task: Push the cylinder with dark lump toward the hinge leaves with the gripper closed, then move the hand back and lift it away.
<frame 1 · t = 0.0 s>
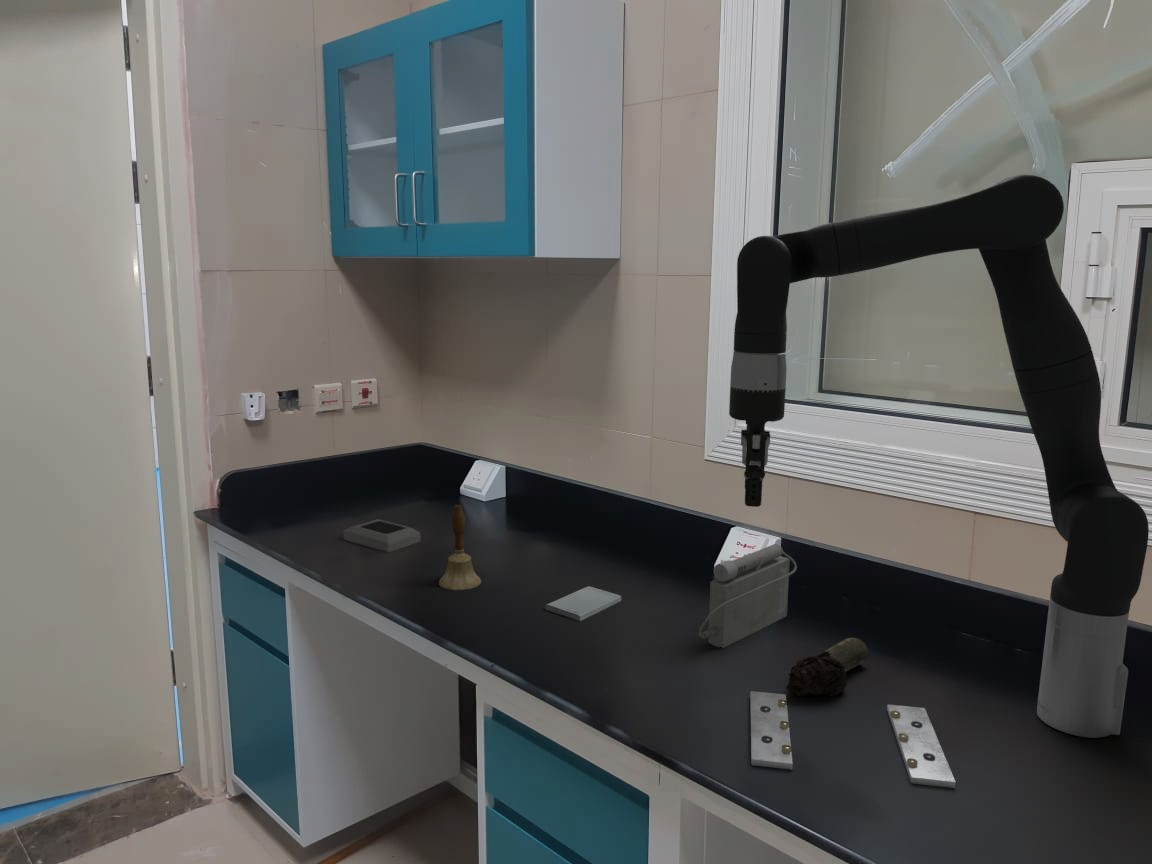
hand: (752, 498, 121), 29 cm above the worktop, tool pointing down, fingers open, 8 cm apart
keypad: (382, 542, 194), on the worktop
hinge leaves: (842, 737, 113), on the worktop
geiger counter: (743, 635, 146), on the worktop
cylinder with dark lump: (830, 684, 129), on the worktop
hard drive: (583, 608, 158), on the worktop
hand bell: (460, 583, 168), on the worktop
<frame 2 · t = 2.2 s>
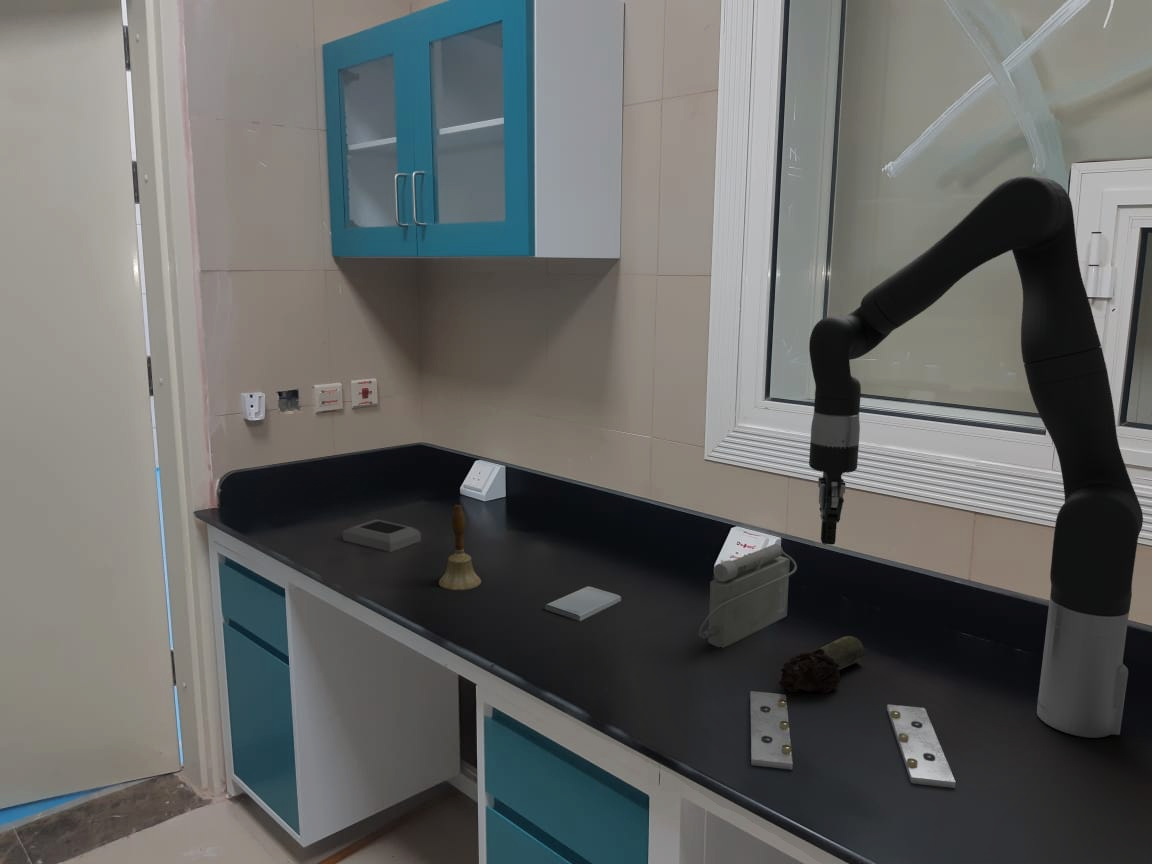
hand: (827, 542, 141), 17 cm above the worktop, tool pointing down, fingers closed
cylinder with dark lump: (824, 681, 130), on the worktop
everything else where it was.
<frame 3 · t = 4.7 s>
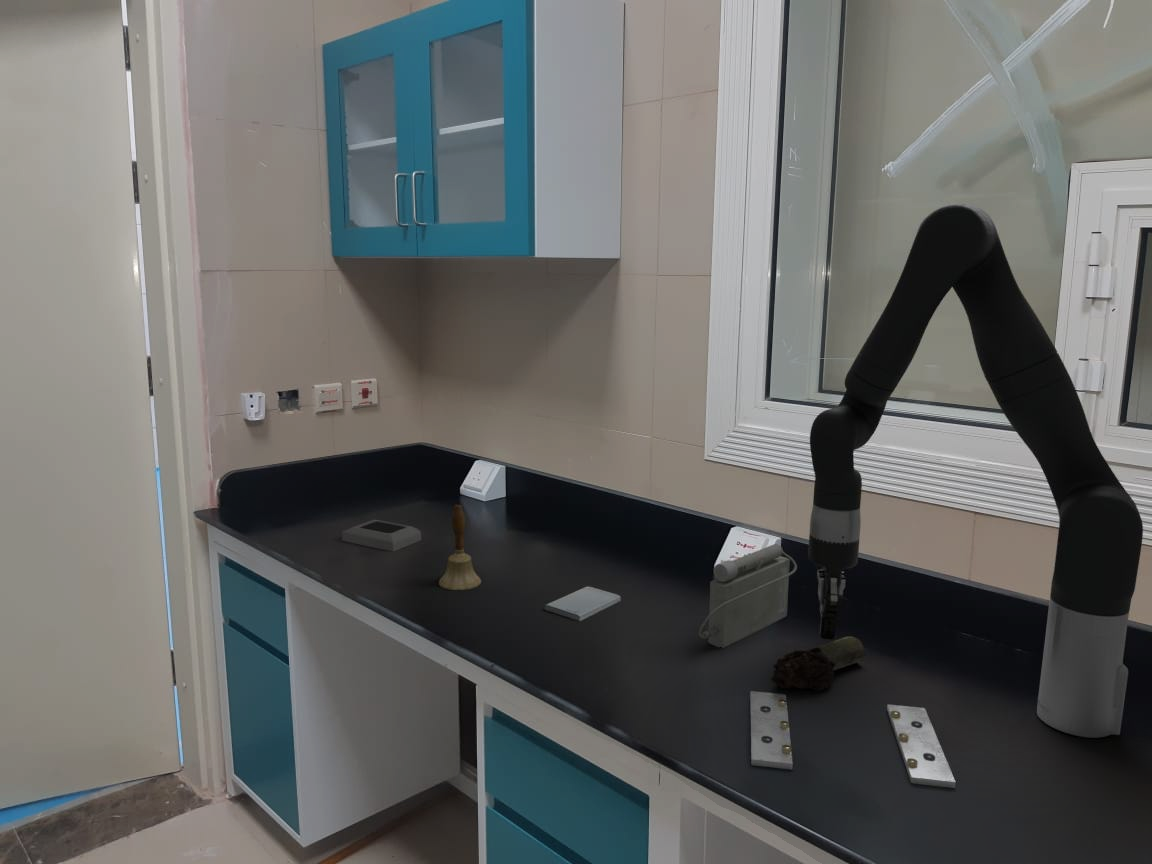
hand: (827, 637, 136), 4 cm above the worktop, tool pointing down, fingers closed
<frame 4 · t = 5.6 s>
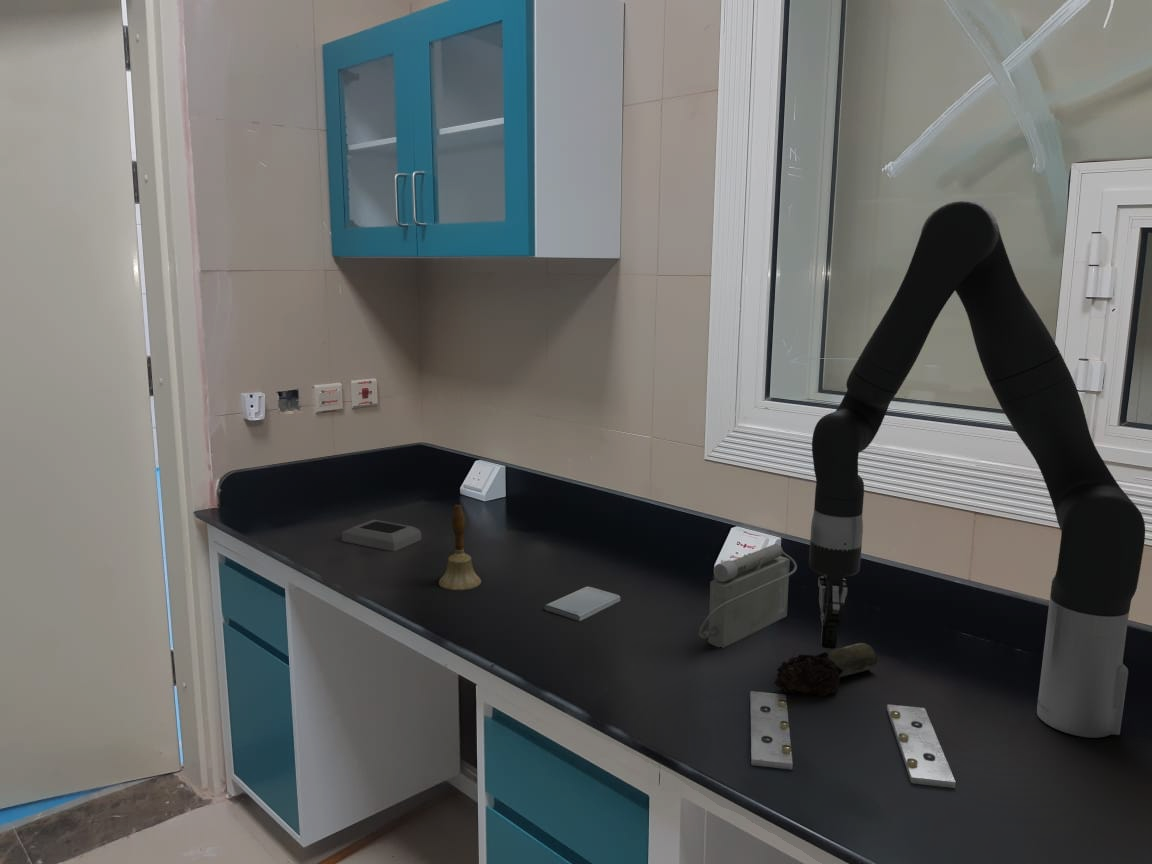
hand: (828, 646, 133), 4 cm above the worktop, tool pointing down, fingers closed
cylinder with dark lump: (827, 685, 129), on the worktop, touching gripper
everything else where it was.
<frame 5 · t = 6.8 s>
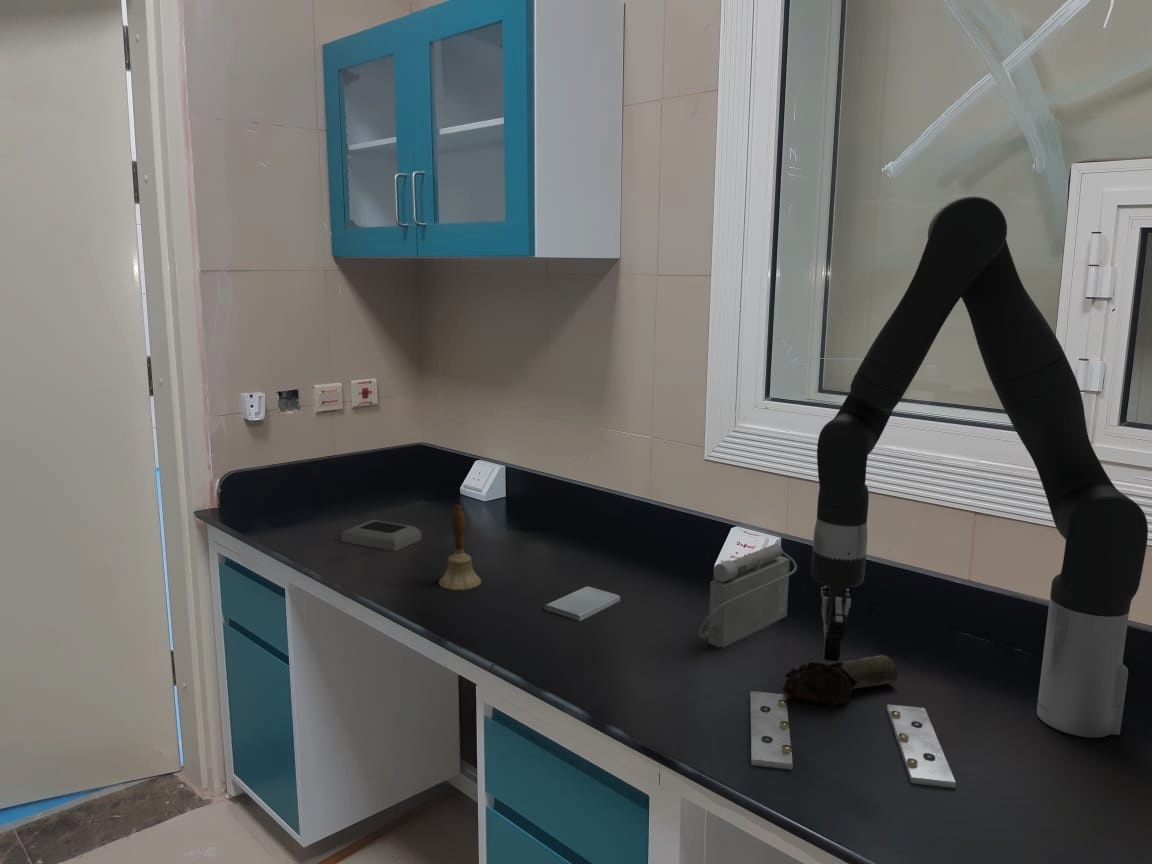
hand: (831, 658, 128), 4 cm above the worktop, tool pointing down, fingers closed
cylinder with dark lump: (840, 696, 125), on the worktop
everything else where it was.
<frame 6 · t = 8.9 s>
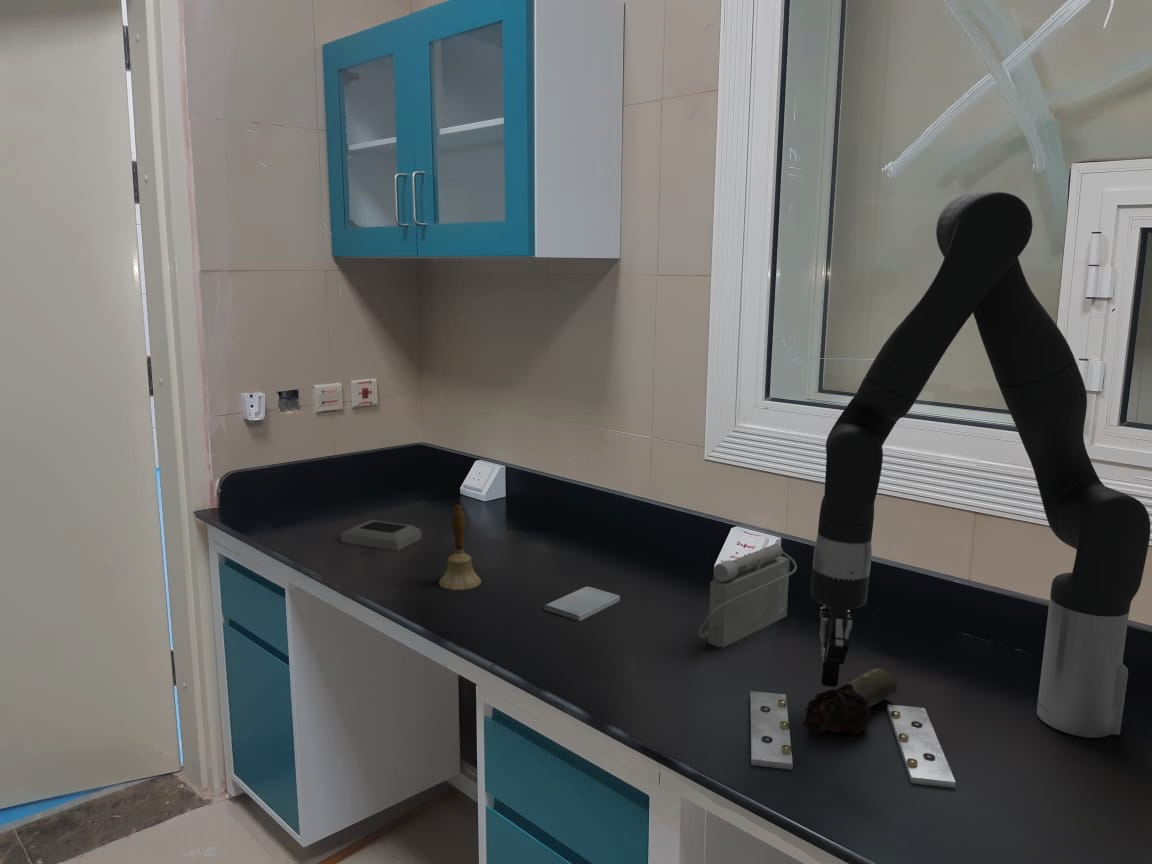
hand: (828, 683, 120), 4 cm above the worktop, tool pointing down, fingers closed
cylinder with dark lump: (852, 720, 118), on the worktop, touching gripper
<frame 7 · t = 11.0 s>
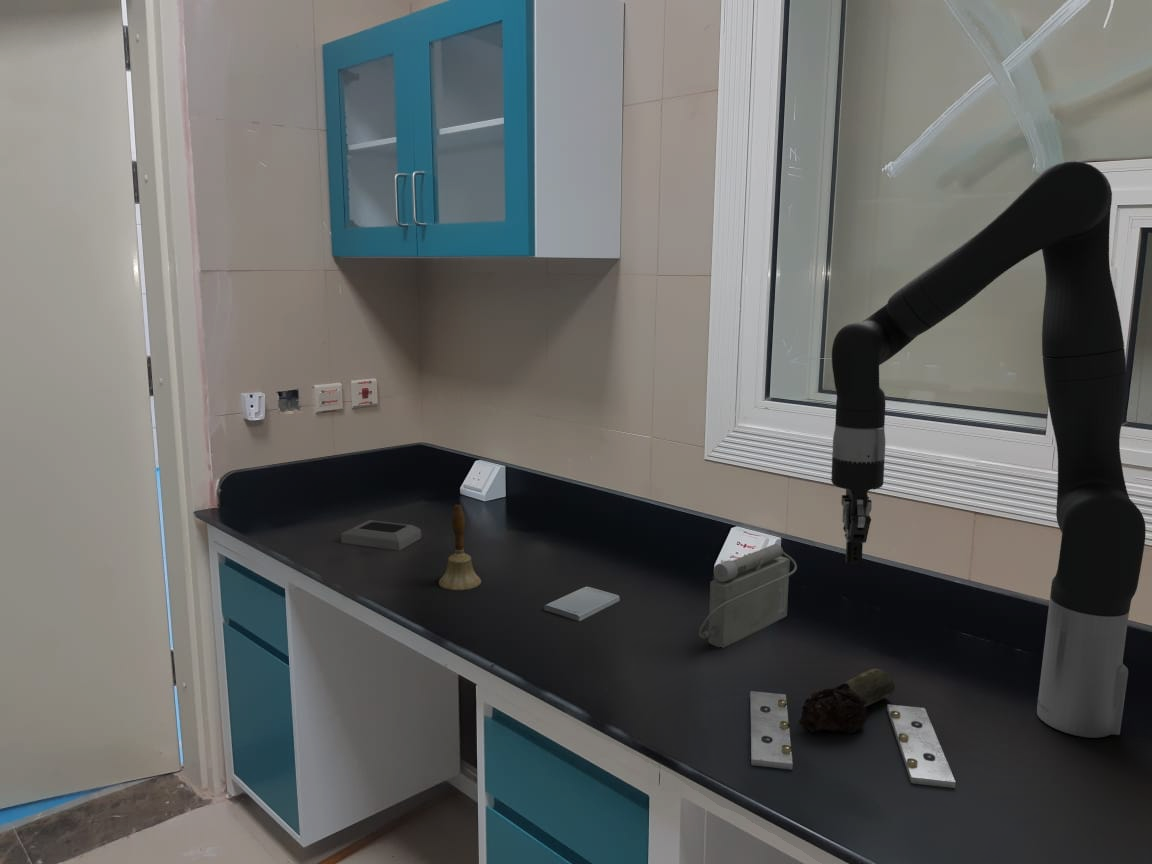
hand: (853, 564, 131), 17 cm above the worktop, tool pointing down, fingers closed
cylinder with dark lump: (849, 719, 119), on the worktop
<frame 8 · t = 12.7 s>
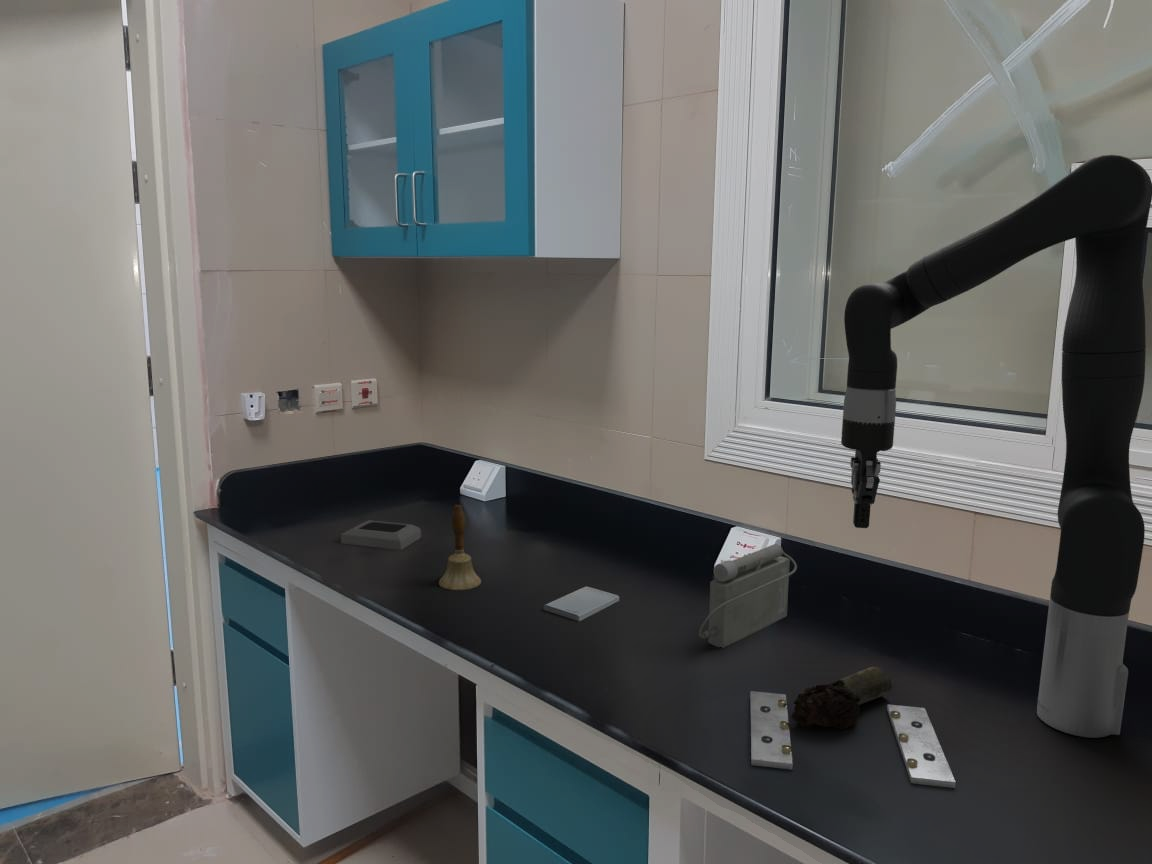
hand: (860, 526, 132), 22 cm above the worktop, tool pointing down, fingers closed
at the end: cylinder with dark lump inside the target area (4.3 cm from its centre), on the worktop; cylinder with dark lump moved 9.3 cm from its start; the gripper is holding nothing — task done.
